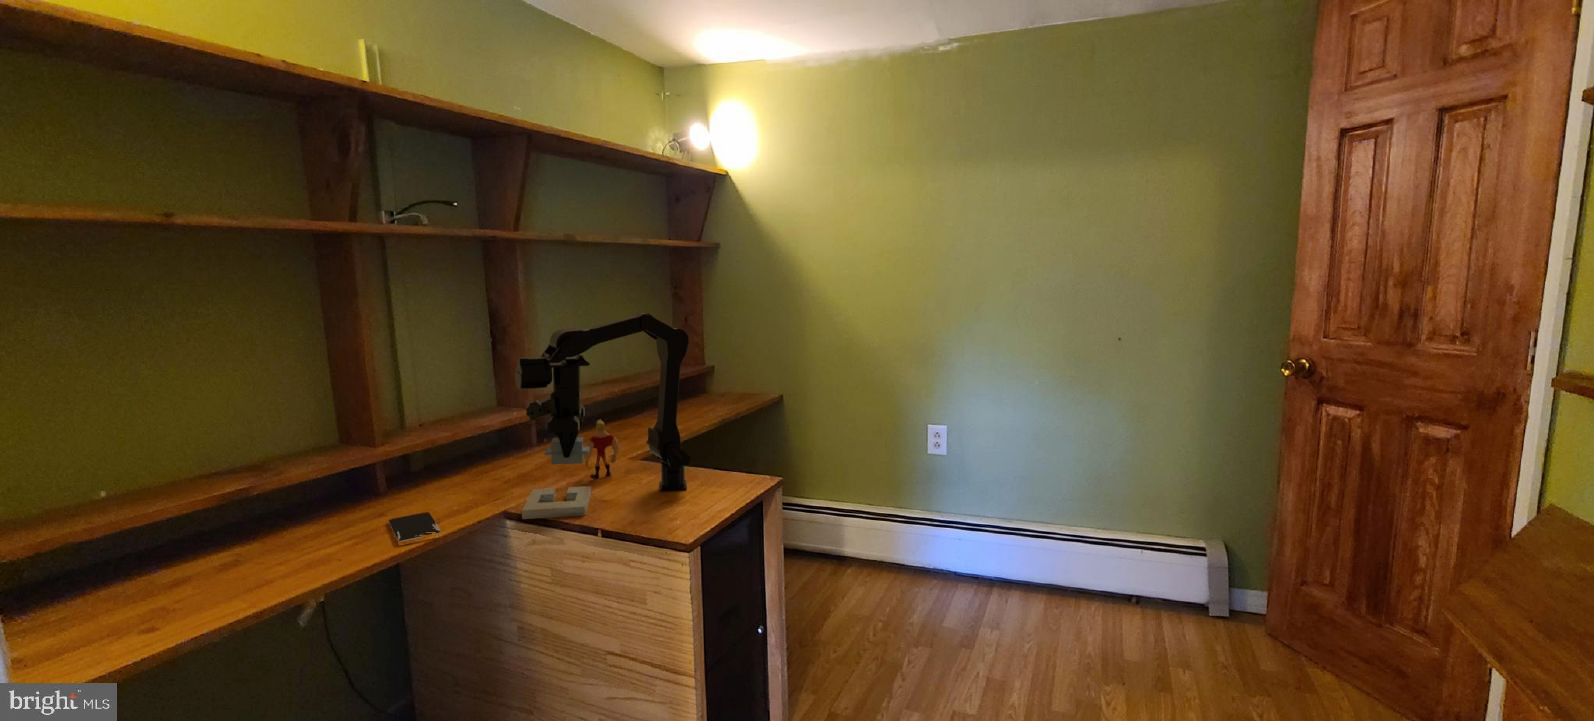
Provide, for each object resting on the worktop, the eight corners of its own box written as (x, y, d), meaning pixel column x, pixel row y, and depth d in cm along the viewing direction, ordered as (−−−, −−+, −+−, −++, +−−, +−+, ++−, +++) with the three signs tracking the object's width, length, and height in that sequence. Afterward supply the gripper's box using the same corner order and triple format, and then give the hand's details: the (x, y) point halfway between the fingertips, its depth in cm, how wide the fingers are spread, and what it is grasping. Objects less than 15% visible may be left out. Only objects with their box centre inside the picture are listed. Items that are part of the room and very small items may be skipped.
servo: (549, 455, 155) (549, 434, 155) (590, 454, 158) (590, 433, 157) (544, 464, 148) (544, 442, 147) (588, 463, 150) (588, 441, 149)
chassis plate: (533, 497, 158) (533, 489, 158) (590, 494, 161) (590, 486, 161) (522, 519, 145) (521, 510, 144) (585, 515, 147) (584, 506, 147)
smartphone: (428, 511, 147) (442, 532, 135) (429, 517, 147) (442, 539, 135) (388, 519, 142) (398, 542, 130) (388, 525, 142) (399, 548, 130)
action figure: (615, 470, 179) (614, 416, 177) (621, 474, 176) (620, 418, 174) (581, 477, 173) (579, 420, 171) (586, 481, 170) (584, 423, 168)
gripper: (534, 379, 156) (535, 445, 158) (520, 394, 138) (522, 467, 140) (584, 379, 159) (585, 444, 161) (577, 393, 141) (578, 466, 143)
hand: (567, 454), depth 151 cm, fingers closed on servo, 4 cm apart
